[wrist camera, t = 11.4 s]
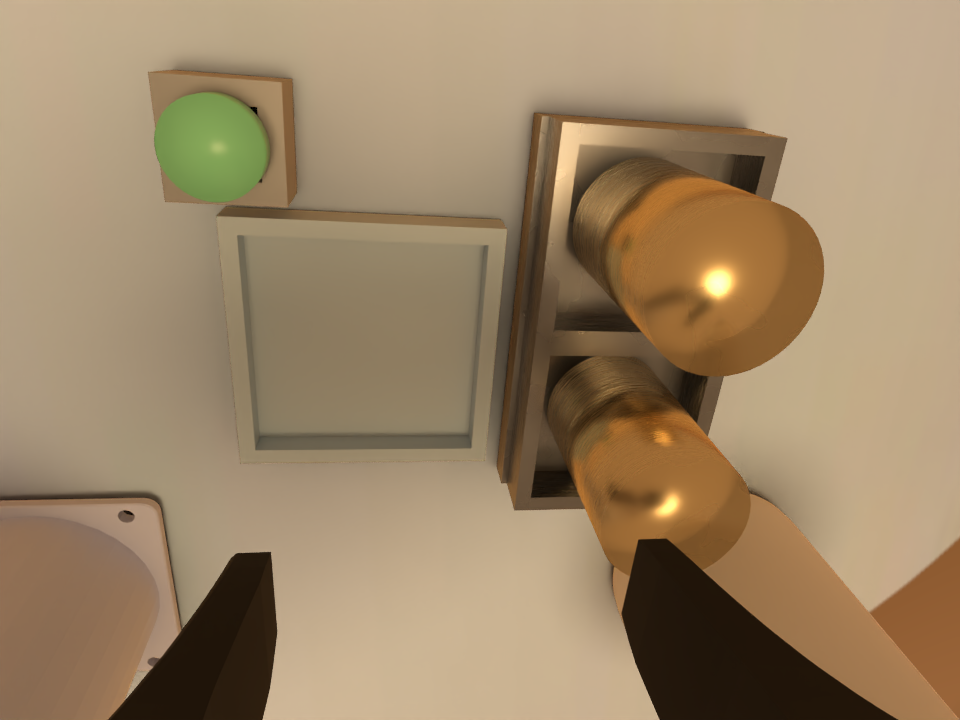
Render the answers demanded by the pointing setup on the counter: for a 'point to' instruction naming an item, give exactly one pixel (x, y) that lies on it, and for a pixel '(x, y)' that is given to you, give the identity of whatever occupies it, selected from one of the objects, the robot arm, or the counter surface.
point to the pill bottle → (816, 614)
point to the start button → (212, 146)
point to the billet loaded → (644, 464)
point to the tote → (360, 333)
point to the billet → (699, 264)
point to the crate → (576, 295)
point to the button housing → (272, 111)
